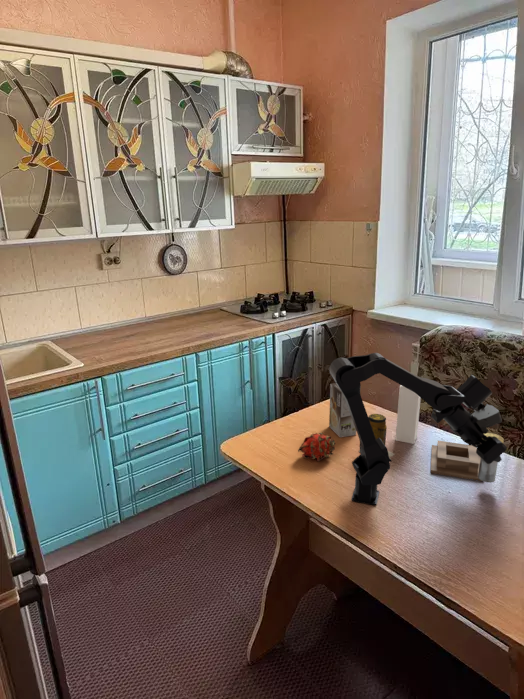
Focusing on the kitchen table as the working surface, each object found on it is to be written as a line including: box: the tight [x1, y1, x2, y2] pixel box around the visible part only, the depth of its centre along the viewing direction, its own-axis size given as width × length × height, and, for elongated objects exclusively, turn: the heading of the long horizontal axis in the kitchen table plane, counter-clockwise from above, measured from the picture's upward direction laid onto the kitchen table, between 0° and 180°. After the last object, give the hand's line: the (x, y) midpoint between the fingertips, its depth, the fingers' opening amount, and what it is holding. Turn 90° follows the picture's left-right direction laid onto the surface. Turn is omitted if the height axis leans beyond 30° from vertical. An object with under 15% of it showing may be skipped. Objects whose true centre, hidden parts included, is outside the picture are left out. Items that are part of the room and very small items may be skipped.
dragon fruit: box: [297, 432, 336, 462], centre depth 149 cm, size 8×8×12 cm
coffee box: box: [328, 382, 357, 438], centre depth 165 cm, size 9×6×16 cm
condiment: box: [358, 413, 396, 458], centre depth 151 cm, size 7×8×12 cm
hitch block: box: [430, 440, 482, 482], centre depth 145 cm, size 16×14×4 cm
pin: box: [478, 432, 505, 483], centre depth 130 cm, size 5×5×12 cm
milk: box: [395, 384, 422, 445], centre depth 158 cm, size 6×6×22 cm
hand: (494, 455), depth 130 cm, fingers closed on pin, 5 cm apart
